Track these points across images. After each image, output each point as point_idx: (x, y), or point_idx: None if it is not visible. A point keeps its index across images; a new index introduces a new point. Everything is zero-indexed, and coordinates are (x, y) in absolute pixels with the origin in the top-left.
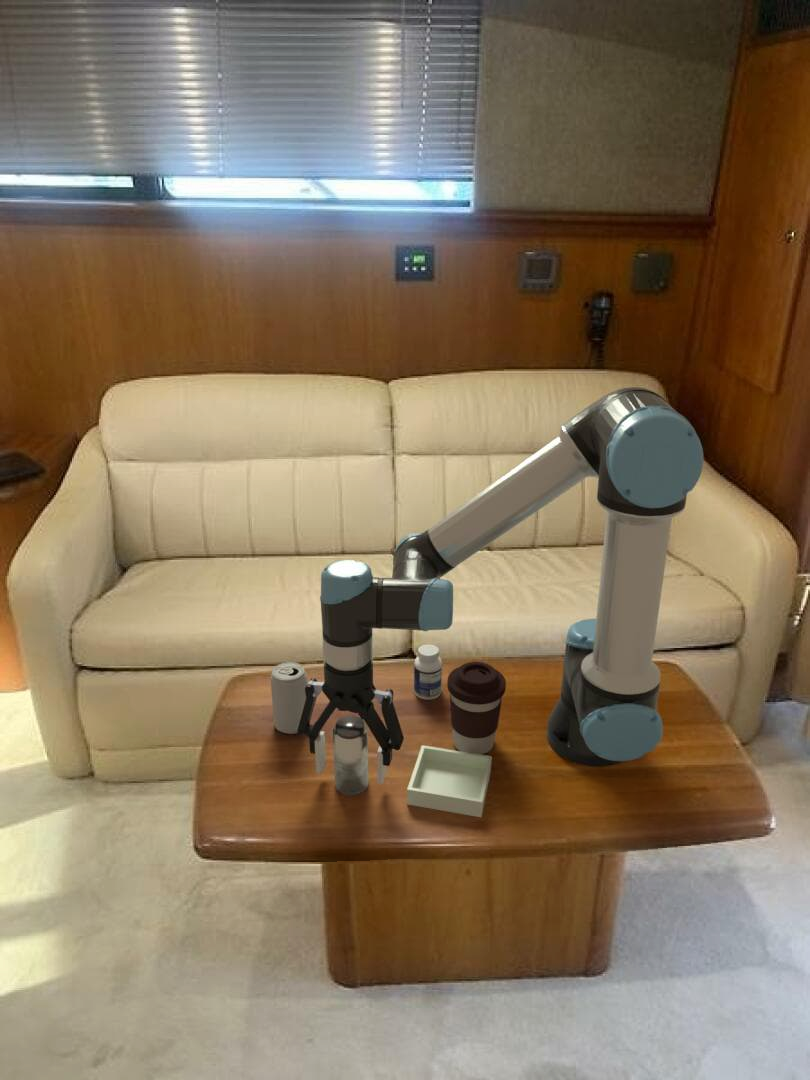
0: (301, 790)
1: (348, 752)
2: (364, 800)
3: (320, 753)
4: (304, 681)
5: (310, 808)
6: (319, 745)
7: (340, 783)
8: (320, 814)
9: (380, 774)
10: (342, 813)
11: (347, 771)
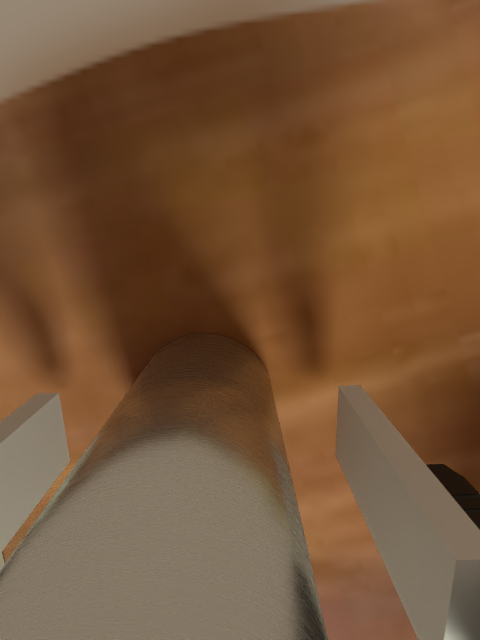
0: (392, 310)
1: (108, 498)
2: (123, 323)
3: (385, 471)
4: None
5: (324, 220)
6: (429, 525)
7: (228, 354)
8: (271, 197)
9: (5, 423)
10: (182, 228)
11: (174, 386)
